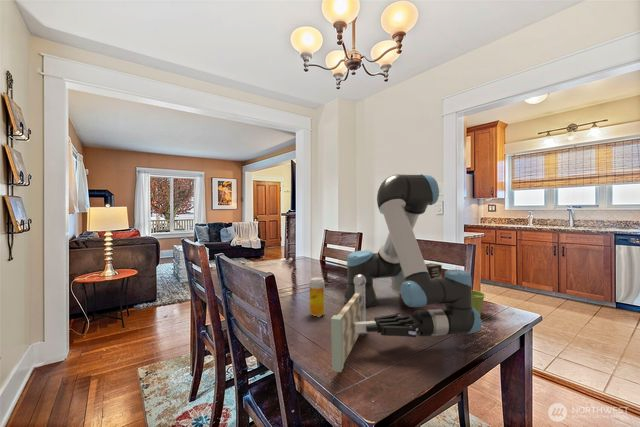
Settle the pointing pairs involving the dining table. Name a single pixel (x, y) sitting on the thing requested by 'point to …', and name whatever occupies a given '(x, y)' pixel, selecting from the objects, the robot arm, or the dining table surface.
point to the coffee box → (434, 270)
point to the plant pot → (477, 300)
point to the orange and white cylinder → (317, 296)
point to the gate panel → (345, 331)
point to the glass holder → (397, 283)
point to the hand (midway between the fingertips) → (354, 327)
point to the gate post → (360, 287)
